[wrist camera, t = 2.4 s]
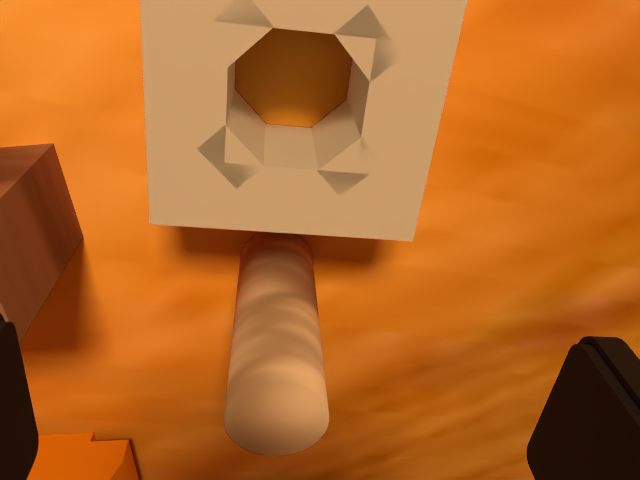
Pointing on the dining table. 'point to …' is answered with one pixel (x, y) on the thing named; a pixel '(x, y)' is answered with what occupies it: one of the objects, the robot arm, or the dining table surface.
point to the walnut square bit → (33, 230)
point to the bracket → (82, 459)
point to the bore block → (291, 141)
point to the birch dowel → (276, 350)
